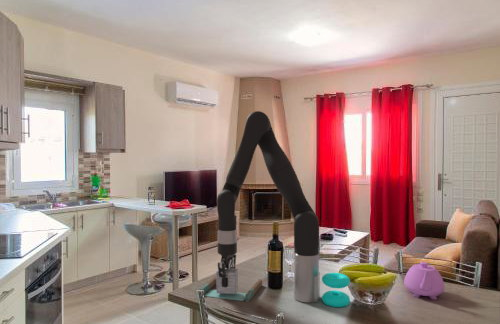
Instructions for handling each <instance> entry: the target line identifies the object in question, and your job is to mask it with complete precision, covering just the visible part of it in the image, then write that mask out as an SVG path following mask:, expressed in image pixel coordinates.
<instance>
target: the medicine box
mask: <svg viewBox="0 0 500 324" xmlns="http://www.w3.org/2000/svg"><path fill="white" fill-rule="evenodd" d="M225 269H227V268H225ZM238 270H239V269H238V268H235V269H232V268H230V271H229V272H228V286H227V287H222V277H219V272H218V269H217V270H216V273H215V274H216V275H215V276H216V283H217V284H216V290H217V293H224V294H237V293H238V291H239V279H238V278H239V273H238V272H239V271H238Z"/></svg>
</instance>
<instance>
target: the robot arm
mask: <svg viewBox="0 0 500 324" xmlns="http://www.w3.org/2000/svg"><path fill="white" fill-rule="evenodd" d="M257 146H258V147H259V149H260V152H261V154H262V156H263V160H264V165H265V167H266V169H267V171H268V174H269V176H270V179H271V180H272V182H273V184H274V186H275V187H276V190H277V191H278V192H279V194H281V196H282V197H283V199H284V200H285V202H286V203H287V205H288V207H289V210H290V212H291V214H292V218H293V239H294V240H293V246H294V247H293V250H294V252H293V254H294V258H293V259H294V260H293V264H294V265H293V266H294V267H293V268H294V269H293V270H294V272H293V273H294V274H293V275H294V279H293V280H294V281H293V283H294V288H293V289H294V290H293V295H294V296H293V297H294V299H295V300H296V301H297V302H301V303H306V304H307V303H318V302H319V299H320V294H321V293H320V291H321V289H320V288H321V286H320V284H321V282H320V276H321V275H320V271H319V270H320V269H319V268H320V266H319V265H320V262H319V261H320V222H319V221H320V220H319V218H318V215H317V214H316V212H315V211H314V210H313V208H312V206H311V205H310V203H309V202H308V199H307V198H306V195H305V194H304V192H303V189H302V186H301V185H302V184H301V183H300V180H299V178H298V176H297V173H296V171H295V169H294V167H293V165H292V163H291V161H290V160H289V157H288V156H287V155H286V153H285V151H284V150H283V148H282V146H280V143H279V142H278V140H277V137H276V135H275V133H274V131H273V127H272V124H271V120H270V119H269V116H268V115H267V114H266V113H264V112H263V111H259V110H257V111H256V110H255V111H252V112H251V113H249V114H248V116H247V117H246V120H245V124H244V130H243V134H242V137H241V141H240V143H239V146H238V150H237V151H236V154H235V156H234V157H233V161H232V163H231V165H230V167H229V169H228V172H227V175H226V178H225V183H224V185H223V188H222V190H221V191H220V193H219V194H218V195H217V197H216V198H217V199H216V207H217V216H218V219H217V254H218V255H221V259H220V262H217V270H218V272H219V277H222V287H227V286H228V272H229V271H230V268H232V269H236V265H237V264H236V262H237V253H238V234H237V217H236V204H237V203H236V202H237V201H238V198H239V195H240V191H241V188H242V186H243V184H244V183H245V180H246V178H247V175H248V173H249V170H250V168H251V166H252V162H253V157H254V154H255V151H256V149H257ZM225 268H227V269H225Z"/></svg>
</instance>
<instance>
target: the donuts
mask: <svg viewBox="0 0 500 324" xmlns="http://www.w3.org/2000/svg"><path fill="white" fill-rule="evenodd" d="M321 280H322V283H323V284H324V285H325V286H327V287H329V288H332V290H328V291H325V292H324V293H323V294H322V297H321V299H322V302H323V303H324V304H325V305H326V306H328V307H329V306H330V307H332V308H333V307H334V308H344V307H347V306H349V304H350V302H351V300H350V299H351V298H350V296H349V295H348V294H347V293H345V292H343V291H341V290H333V289H343V288H346V287H348V286H349V285H350V283H351V279H350V277H349V276H348V275H346V274H344V273H339V272H327V273H325V274H323V276H322V278H321Z"/></svg>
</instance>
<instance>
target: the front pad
mask: <svg viewBox="0 0 500 324" xmlns="http://www.w3.org/2000/svg"><path fill="white" fill-rule="evenodd" d="M246 294H247V292H246V293H244V292H237V294H224V293H217V289H212V288H211V289H210V290H209V291H207V292H206V293H205V294H204V295H203V296H204V297H208V298H217V299H222V300H223V299H224V300H230V301H231V300H233V301H238V302H244V301H246Z"/></svg>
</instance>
